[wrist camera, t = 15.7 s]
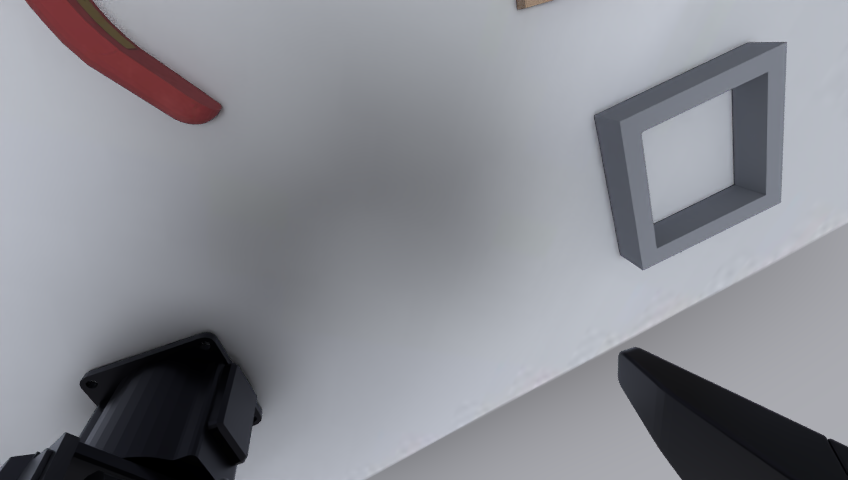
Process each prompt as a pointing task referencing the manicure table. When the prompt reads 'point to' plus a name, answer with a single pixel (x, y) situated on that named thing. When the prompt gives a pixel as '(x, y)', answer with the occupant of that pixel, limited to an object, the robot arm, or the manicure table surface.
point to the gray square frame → (753, 151)
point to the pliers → (123, 59)
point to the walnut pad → (529, 3)
